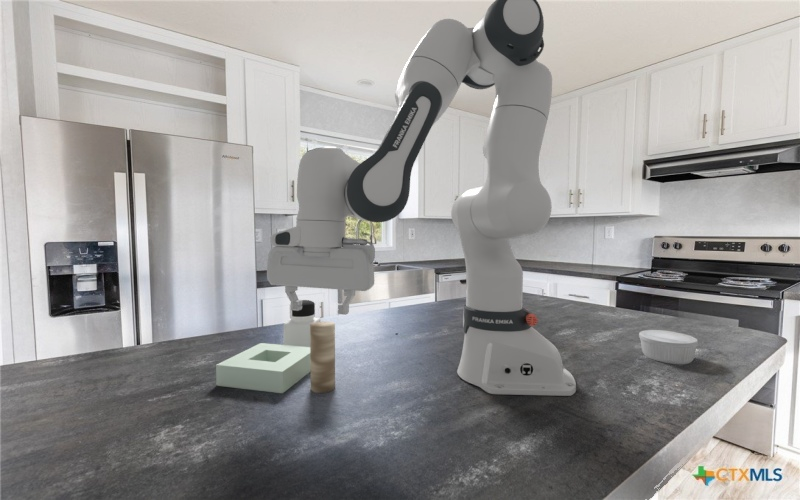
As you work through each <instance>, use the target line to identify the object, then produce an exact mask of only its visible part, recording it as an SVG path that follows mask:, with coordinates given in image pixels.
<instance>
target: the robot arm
mask: <svg viewBox="0 0 800 500" xmlns="http://www.w3.org/2000/svg"><path fill="white" fill-rule="evenodd" d="M544 21H545V20H544V15H543V10H542V8H541V6H540V4H539V2H538V0H494V1H493V2H492V4H490V6H489V7H488V9H487V10H486V12H485V13H484V15H483V16H482V17H481V18H480V20H479V21H478V22H477V23H476V24H475V27H467V26H466V25H465V24H463V23H462V22H461V21H459V20H456V19H453V18H443V19H440V20H438V21H436V22H435V23H434V24H433V25H432V26H431V27H429V29H428V31H426V33H425V35H424V36H423V37H421V39H420V41H419V42H418V44H417V45H416V47H415V49H414V50H413V51H412V53H411V55H410V57H409V58H408V61H407V62H406V64H405V66H404V68H403V70H402V73H401V75H400V77H399V79H398V83H397V86H396V89H395V93H394V98H395V102H396V105H397V111H396V114H395V116H394V118H393V120H392V122H391V124H390V126H389V127H388V130H387V132H385V135H384V137H383V139H382V141H381V143H380V144H379V146H378V148H377V150H376V151H375V152H374V153H373V154H372V155H370V156H369V157H368V158H366V159H365V160H364V161H362V162H361V163H360V162H359V161H357V160H355V159H354V158H352V157H351V156H350V155H348V154H347V153H345V151H344V150H343V149H342V148H341V147H337V146H319V147H315V148H312V149H309V150H307V151H306V152H305V153H304V154H303V155H302V156H301V158H300V161H299V164H298V171H297V181H296V182H297V184H296V197H297V198H296V199H297V202H298V213H297V216H296V226H294V227H291V228H287V229H285V230H282V231H278V232H274V233H273V234H271V235H270V238H269V240H270V245H272V246H273V247H272V248H270V250H269V253H268V255H267V262H266V263H267V266H266V279H267V281H268V283H269V284H270V285H271V286H283V287H284V288H285V289H284V291H285V294H286V296H287V298H288V299H289V301H290V304H291V310H297V311H299V310H301V309H302V300H303V299H299V297H298V295H297V293H296V292H297V291H298V288H312V289H326V290H327V289H329V290H341V291H342V290H343V296H344V297H345V299H344V301H343V302H342V303H339V304H337V309H338V310H337V314H338V315H346V316H347V315H348V314H349V313H350V304H351V302H352V301H353V298H355V296H356V292H357V291H358V292H366V291H369V290H371V289H372V288H373V287H374V285H375V269H374V268H375V267H374V261H375V257H376V249H375V246H374V244H373V243H372V242H371V241H368V239H366V238H350V237H346V223H347V222H346V219H347V217H352V218H356V219H358V220H360V221H364V222H371V223H385V222H388V221H391V220H393V219H395V218H396V217H397V216H399V215H400V214H401V213H402V211H403V210H404V209H405V207H406V206H407V204H408V200H409V197H410V188H411V176H412V171H413V167H414V165H415V162H416V160H417V157H418V155H419V154H420V151H421V150H422V148H423V145H424V144H425V141H426V139H427V137H428V135H429V133H430V132H431V129H432V127H433V126H434V125H435V124H436V122H438V120H440V118H442V116H443V115H444V113H445V112H446V110H447V109H448V108H449V107H450V105H451V103H452V101H453V99H454V98H455V97H456V94H457V92H458V91H459V89H460V87H461V85H462V83H463V84H465V85H466V86H467V87H469V88H472V89H475V90H487V89H489V88H491V87H493V86H494V87H495V100H494V103H493V106H492V109H491V114H490V118H489V121H488V125H487V130H486V133H485V137H484V141H483V144H482V154H483V156H484V158H485V159H486V161H487V177H486V180H485V183H484V185H480V186H476V187H472V188H470V189H467V190H466V191H465V192H463V193H462V194H461V195H459V196H458V197H457V198H456V199H455V201H454V202H453V204H452V206H451V211H450V212H451V213H450V214H451V215H450V216H451V220H452V223H453V225H454V226H455V228H456V229H457V231H458V235H459V239H460V242H461V248H462V252H463V257H464V262H465V274H466V276H465V277H466V278H465V279H466V280H465V281H466V283H465V284H466V285H465V288H466V289H465V290H466V291H465V292H466V293H465V296H466V297H465V304H464V306H463V311H462V313H463V314H462V329H463V332H464V337H463V345H462V351H461V356H460V361H459V364H458V367H457V370H456V372H457V375H458V376H459V378H461V379H462V380H463V381H465V382H466V383H469V384H472V385H474V386H477V387H478V388H481V389H482V390H483V391H484V392H486V393H487V394H491V395H510V396H511V395H516V396H517V395H518V396H519V395H520V396H521V395H523V396H559V397H561V396H562V397H563V396H564V397H567V396H569V397H570V396H573V395H574V394H575V393H576V391H577V383H576V380H575V379H576V378H574V376H573V375H572V373H571V372H570V371H569V370H567V369H566V368H565V367H564V365H563V360H562V357H561V353H560V351H559V349H558V348H557V347H556V346H555V345H554V344H553V343H552V342H551V341H550V340H549V339H547V338H546V337H545V336H544V335H542V334H541V333H540V332H538V330H537V329H535V328H534V326H536V325H537V324H538V322H539V320H538V317H537V315H536V314H534V313H533V312H531V311H530V310H529V309H528V308H526V307H524V306H523V291H524V290H523V285H524V284H523V281H524V272H523V271H524V270H523V268H522V266H521V264H520V263H519V261H518V260H517V259H516V257H515V254H514V252H513V249H512V246H511V243H510V242H511V241H510V240H511V239H520V238H525V237H527V236H531V235H534V234H536V233H538V232H540V231H541V230H543V229H544V228H545V226H546V225H547V224H548V223H549V220H550V218H551V215H552V200H551V197H550V193H549V192H548V190H547V188H545V186H543V184H542V182H541V178H540V177H541V176H540V167H539V165H540V164H539V163H540V152H541V149H542V146H543V140H544V135H545V130H546V127H547V123H548V119H549V114H550V110H551V109H550V108H551V104H552V103H551V102H552V94H553V93H552V92H553V75H552V72H551V71H550V69H549V68H548V67H547V66H546V65H545V64H543V63H541V62H540V61H538V60H537V59H538V58H539V57H540V55H541V54H542V52H543V51H544V47H545V42H544V37H543V34H544V30H545V29H544V27H545V26H544V25H545V24H544Z"/></svg>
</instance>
